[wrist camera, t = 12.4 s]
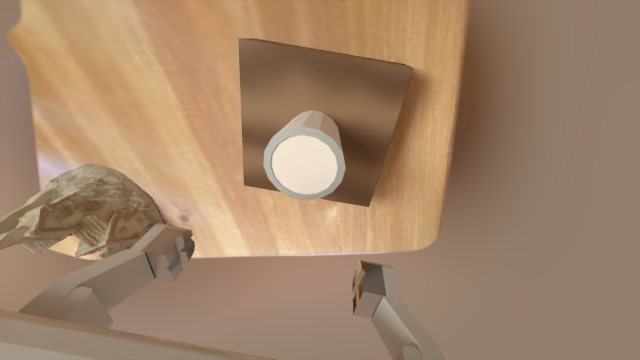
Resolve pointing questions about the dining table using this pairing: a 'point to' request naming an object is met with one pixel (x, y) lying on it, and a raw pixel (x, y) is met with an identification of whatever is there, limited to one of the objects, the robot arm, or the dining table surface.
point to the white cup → (306, 157)
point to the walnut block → (320, 107)
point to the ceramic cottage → (83, 213)
